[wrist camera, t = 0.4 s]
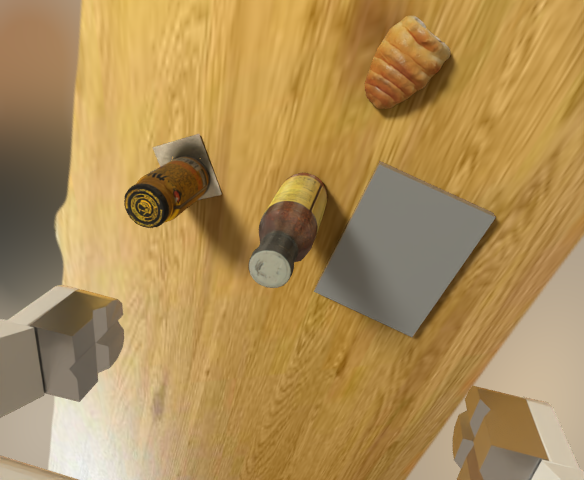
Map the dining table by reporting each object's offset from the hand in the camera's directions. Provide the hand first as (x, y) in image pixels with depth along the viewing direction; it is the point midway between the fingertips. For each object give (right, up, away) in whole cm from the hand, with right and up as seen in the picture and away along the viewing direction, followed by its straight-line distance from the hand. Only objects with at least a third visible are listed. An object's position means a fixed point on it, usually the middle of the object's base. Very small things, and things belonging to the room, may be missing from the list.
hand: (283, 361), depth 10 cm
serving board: (+14, +1, +47) cm, 49 cm away
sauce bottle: (+2, +9, +47) cm, 48 cm away
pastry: (+13, +22, +38) cm, 46 cm away
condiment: (-14, +12, +49) cm, 53 cm away
